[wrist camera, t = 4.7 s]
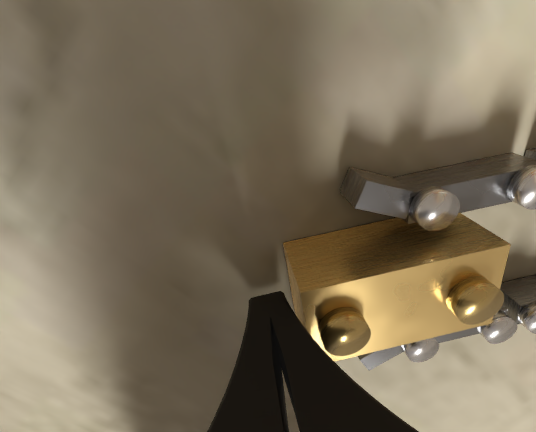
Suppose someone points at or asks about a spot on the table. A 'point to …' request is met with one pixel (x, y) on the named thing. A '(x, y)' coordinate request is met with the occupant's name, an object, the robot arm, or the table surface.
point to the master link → (394, 283)
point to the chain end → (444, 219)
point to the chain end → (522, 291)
